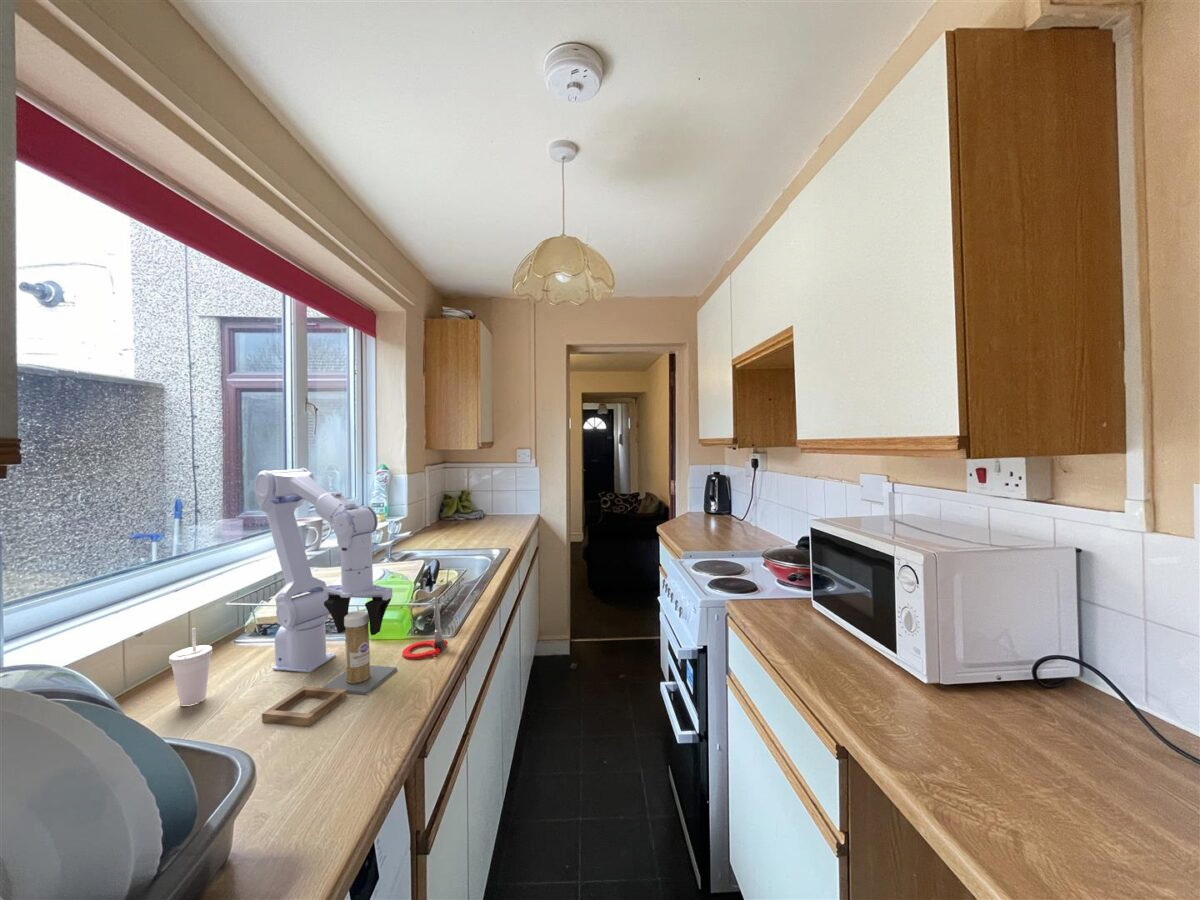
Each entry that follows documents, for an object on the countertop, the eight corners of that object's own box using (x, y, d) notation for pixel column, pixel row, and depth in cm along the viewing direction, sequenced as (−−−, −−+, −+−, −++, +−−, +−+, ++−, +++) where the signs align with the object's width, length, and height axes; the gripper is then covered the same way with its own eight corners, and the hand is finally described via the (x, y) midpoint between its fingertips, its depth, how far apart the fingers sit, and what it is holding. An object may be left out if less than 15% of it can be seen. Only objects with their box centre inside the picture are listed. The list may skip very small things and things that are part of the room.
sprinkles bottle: (360, 685, 94) (358, 619, 94) (340, 683, 96) (338, 617, 95) (375, 674, 99) (373, 610, 99) (357, 672, 100) (355, 609, 100)
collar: (262, 721, 84) (261, 713, 84) (304, 693, 93) (303, 685, 93) (308, 726, 82) (308, 718, 82) (346, 697, 91) (346, 689, 91)
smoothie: (221, 696, 92) (218, 626, 92) (181, 714, 87) (178, 638, 86) (203, 690, 95) (200, 621, 95) (163, 706, 89) (160, 633, 89)
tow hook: (395, 662, 107) (435, 660, 106) (391, 605, 106) (431, 603, 106) (412, 646, 115) (449, 644, 115) (408, 593, 115) (445, 591, 114)
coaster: (321, 691, 94) (321, 688, 94) (355, 666, 104) (355, 664, 104) (366, 694, 92) (366, 691, 92) (396, 669, 102) (396, 667, 102)
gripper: (311, 571, 95) (313, 638, 95) (376, 573, 92) (378, 642, 93) (336, 561, 102) (338, 624, 102) (397, 563, 99) (399, 628, 99)
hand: (358, 632), depth 98 cm, fingers open, 7 cm apart
